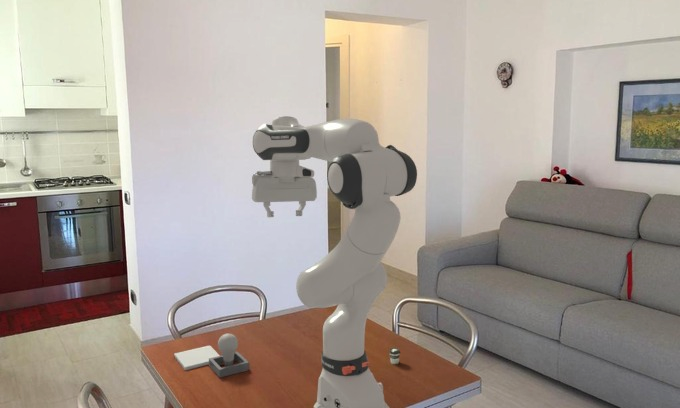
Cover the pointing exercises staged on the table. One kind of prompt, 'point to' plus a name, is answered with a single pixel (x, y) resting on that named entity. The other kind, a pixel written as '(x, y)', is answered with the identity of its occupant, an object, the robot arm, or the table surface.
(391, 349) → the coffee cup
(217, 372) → the frame
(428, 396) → the table surface
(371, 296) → the robot arm
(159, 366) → the table surface
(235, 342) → the lightbulb
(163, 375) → the table surface
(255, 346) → the table surface
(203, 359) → the mat
